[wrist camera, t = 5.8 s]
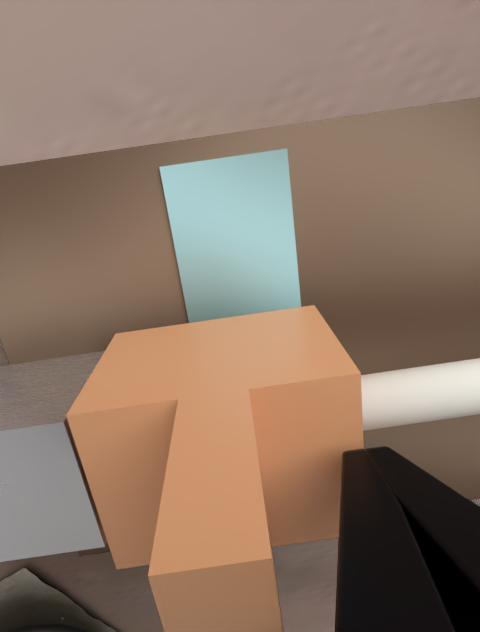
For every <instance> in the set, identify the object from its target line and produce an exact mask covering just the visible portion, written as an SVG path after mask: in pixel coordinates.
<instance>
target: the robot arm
mask: <svg viewBox="0 0 480 632" xmlns="http://www.w3.org/2000/svg"><path fill="white" fill-rule="evenodd" d="M335 632H480V506H479V505H477V504H475V503H474V502H472V501H471V500H469V499H468V498H466V497H465V496H463V495H462V494H460V493H459V492H457V491H456V490H454V489H453V488H451V487H450V486H448V485H447V484H445V483H443V482H442V481H440V480H439V479H437V478H436V477H434V476H433V475H431V474H430V473H428V472H427V471H425V470H424V469H422V468H421V467H419V466H418V465H416V464H414V463H413V462H411V461H410V460H408V459H407V458H405V457H404V456H402V455H401V454H399V453H398V452H396V451H395V450H393V449H392V448H390V447H388V446H385V445H382V446H375V447H368V448H365V449H355V450H348V451H344V452H343V453H342V468H341V492H340V517H339V541H338V565H337V590H336V614H335Z"/></svg>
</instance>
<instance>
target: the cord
mask: <svg viewBox="0 0 480 632" xmlns="http://www.w3.org/2000/svg"><path fill="white" fill-rule="evenodd" d="M361 391H362V417H363V431H366V430H373V429H380V428H387V427H394V426H401V425H408V424H415V423H422V422H429V421H435V420H442V419H449V418H456V417H463V416H470V415H477V414H480V358H477V359H470V360H463V361H456V362H449V363H442V364H435V365H428V366H421V367H414V368H407V369H400V370H394V371H387V372H380V373H373V374H366V375H361Z"/></svg>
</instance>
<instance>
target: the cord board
mask: <svg viewBox="0 0 480 632" xmlns="http://www.w3.org/2000/svg"><path fill="white" fill-rule="evenodd" d="M311 305H315V307H316V308H317V310H318V311H319V312H320V314H321V315H322V317H323V318H324V320H325V321H326V323H327V324H328V326H329V327H330V329H331V330H332V332H333V333H334V334H335V336H336V337H337V339H338V340H339V342H340V343H341V345H342V346H343V348H344V349H345V351H346V352H347V353H348V355H349V356H350V358H351V359H352V361H353V362H354V364H355V365H356V367H357V368H358V370H359V371H360V372H361V375H366V374H373V373H380V372H387V371H394V370H400V369H407V368H414V367H421V366H428V365H435V364H442V363H449V362H456V361H463V360H470V359H477V358H480V97H478V98H471V99H465V100H458V101H451V102H444V103H437V104H430V105H423V106H416V107H409V108H402V109H395V110H388V111H381V112H374V113H367V114H360V115H353V116H346V117H340V118H333V119H326V120H319V121H312V122H305V123H298V124H291V125H284V126H277V127H270V128H263V129H256V130H249V131H242V132H235V133H228V134H222V135H215V136H208V137H201V138H194V139H187V140H180V141H173V142H166V143H159V144H152V145H145V146H138V147H131V148H124V149H117V150H110V151H104V152H97V153H90V154H83V155H76V156H69V157H62V158H55V159H48V160H41V161H34V162H27V163H20V164H13V165H6V166H0V340H1V343H2V345H3V348H4V351H5V354H6V356H7V359H8V362H9V365H11V364H18V363H25V362H32V361H39V360H46V359H53V358H60V357H67V356H74V355H81V354H88V353H95V352H102V351H105V350H106V349H107V347H108V345H109V344H110V342H111V340H112V339H113V337H114V335H115V334H116V333H123V332H130V331H137V330H144V329H151V328H158V327H165V326H172V325H179V324H186V323H193V322H200V321H207V320H214V319H220V318H227V317H234V316H241V315H248V314H255V313H262V312H269V311H276V310H283V309H290V308H297V307H304V306H311ZM363 443H364V449H365V448H368V447H375V446H382V445H385V446H388V447H390V448H392V449H393V450H395V451H396V452H398V453H399V454H401V455H402V456H404V457H405V458H407V459H408V460H410V461H411V462H413V463H414V464H416V465H418V466H419V467H421V468H422V469H424V470H425V471H427V472H428V473H430V474H431V475H433V476H434V477H436V478H437V479H439V480H440V481H442V482H443V483H445V484H447V485H448V486H450V487H451V488H453V489H454V490H456V491H457V492H459V493H460V494H462V495H463V496H465V497H466V498H468V499H469V500H472V499H479V498H480V414H477V415H470V416H463V417H456V418H449V419H442V420H435V421H429V422H422V423H415V424H408V425H401V426H394V427H387V428H380V429H373V430H366V431H363ZM104 552H111V551H110V548H109V545H108V542H106V546H105V547H101V548H94V549H87V550H80V551H78V553H79V556H83V555H90V554H97V553H104Z"/></svg>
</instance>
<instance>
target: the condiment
mask: <svg viewBox="0 0 480 632" xmlns="http://www.w3.org/2000/svg"><path fill="white" fill-rule="evenodd" d="M61 617H63V618H65V619H64V620H61ZM0 632H116V631H115V630H114V629H112V628H110V627H108V626H106V625H105V624H103V622H102V621H100V620H97V619H94V618H92V617H91V616H89V615H88V614H87V613H86V612H85V611H84V610H83V609H82V608H81V607H80V606H78V605H77V604H75V603H73V602H72V601H71V600H70V599H69V598H68V597H67V596H66V595H64V594H63V593H61V592H60V591H58V590H57V589H54V588H52V587H50V586H48V585H46V584H44V583H43V582H42V581H41V580H40V579H39V578H38V577H36V576H35V575H34V574H32V573H31V572H30V571H28V570H27V569H26V568H23V569H21V570H19V571H18V572H16V573H14V574H13V575H11V576H10V577H9V576H8V577H6V578H4V579H3V580H2V581H0Z"/></svg>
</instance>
